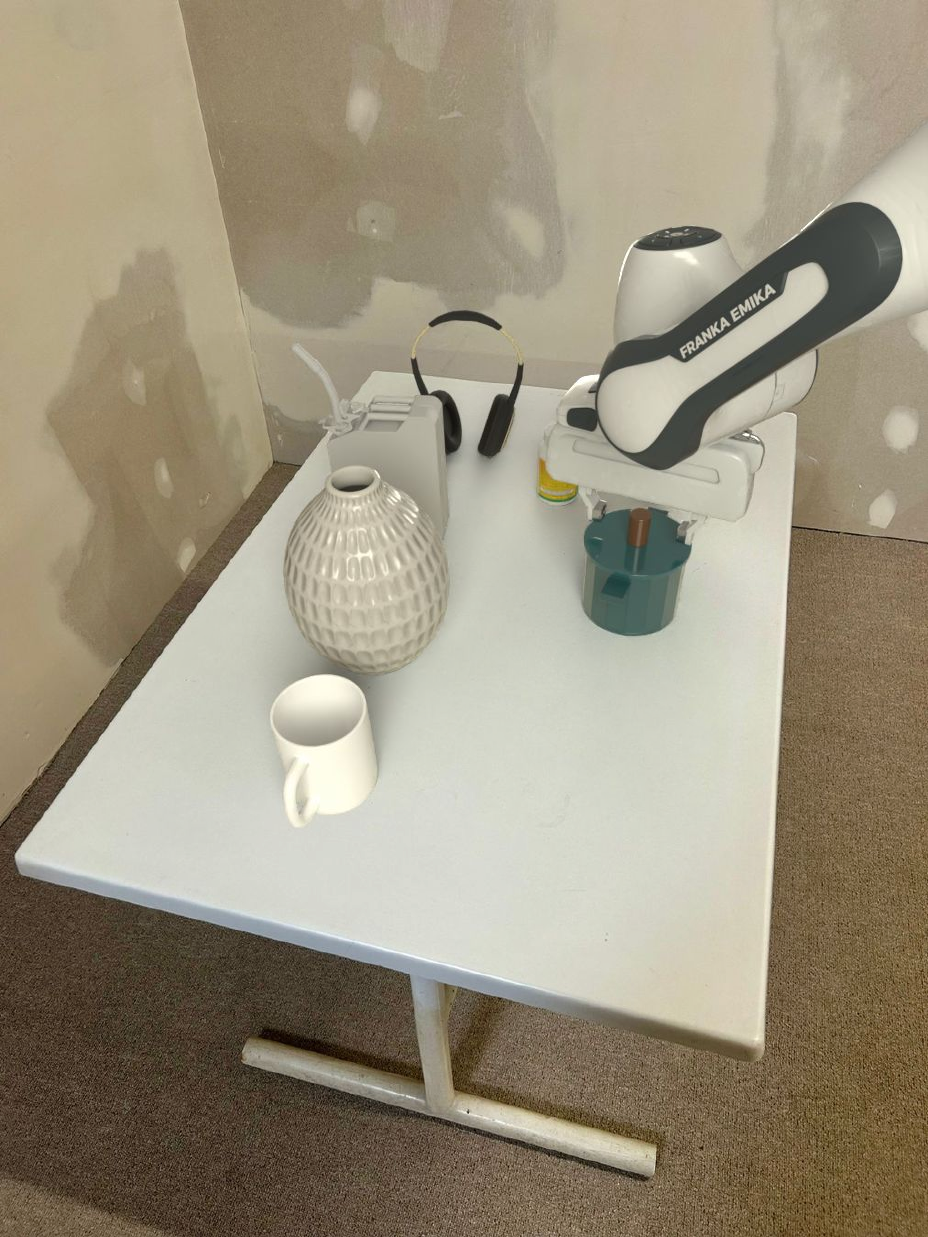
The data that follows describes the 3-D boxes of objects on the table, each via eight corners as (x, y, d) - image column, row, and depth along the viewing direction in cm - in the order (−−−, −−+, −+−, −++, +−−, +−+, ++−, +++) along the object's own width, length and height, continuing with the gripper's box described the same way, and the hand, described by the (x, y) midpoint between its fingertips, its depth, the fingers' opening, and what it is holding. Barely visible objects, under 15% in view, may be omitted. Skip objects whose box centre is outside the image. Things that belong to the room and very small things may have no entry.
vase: (473, 615, 96) (466, 443, 81) (424, 724, 85) (405, 549, 70) (339, 589, 100) (308, 420, 85) (276, 690, 89) (228, 518, 74)
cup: (391, 754, 83) (380, 683, 76) (343, 862, 74) (326, 795, 67) (312, 736, 85) (294, 666, 78) (257, 840, 76) (231, 772, 69)
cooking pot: (694, 573, 100) (705, 514, 94) (653, 664, 90) (662, 605, 84) (608, 550, 103) (614, 492, 98) (559, 635, 93) (562, 576, 88)
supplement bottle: (532, 485, 114) (534, 421, 107) (572, 480, 114) (576, 416, 107) (541, 509, 110) (543, 444, 103) (582, 504, 110) (587, 439, 104)
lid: (702, 532, 93) (709, 496, 90) (672, 596, 86) (679, 560, 82) (603, 507, 97) (606, 472, 93) (567, 567, 90) (569, 531, 86)
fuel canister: (321, 537, 107) (285, 348, 90) (332, 512, 111) (298, 327, 94) (443, 544, 105) (429, 353, 88) (449, 519, 109) (437, 331, 92)
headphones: (425, 430, 124) (414, 294, 111) (526, 437, 122) (528, 299, 108) (411, 463, 118) (398, 324, 105) (518, 471, 116) (519, 330, 102)
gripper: (776, 415, 78) (748, 536, 88) (565, 375, 85) (560, 490, 95) (761, 451, 74) (733, 573, 84) (540, 405, 81) (537, 522, 91)
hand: (639, 529), depth 89 cm, fingers open, 8 cm apart
